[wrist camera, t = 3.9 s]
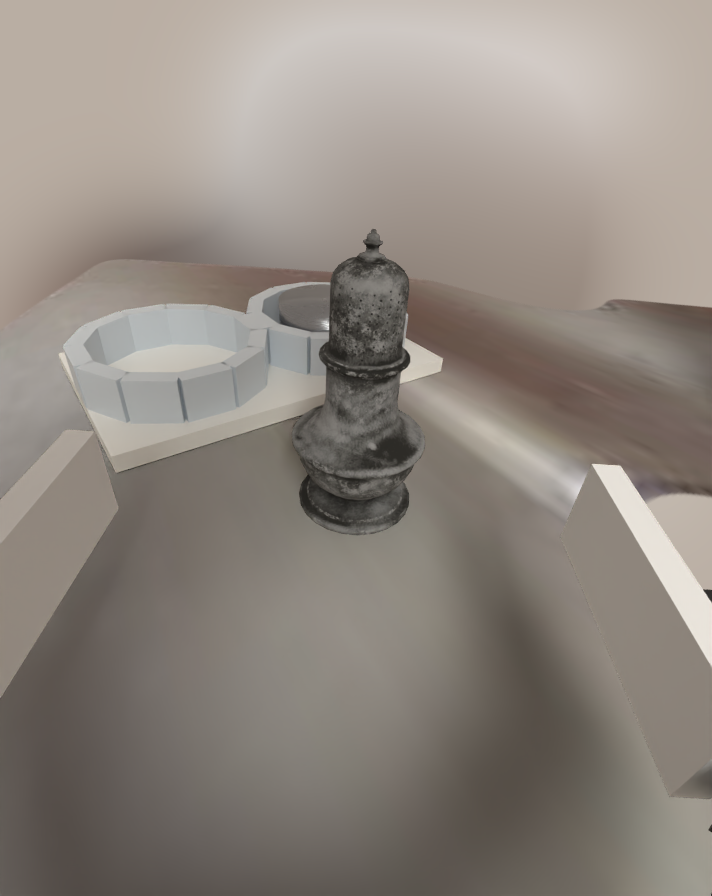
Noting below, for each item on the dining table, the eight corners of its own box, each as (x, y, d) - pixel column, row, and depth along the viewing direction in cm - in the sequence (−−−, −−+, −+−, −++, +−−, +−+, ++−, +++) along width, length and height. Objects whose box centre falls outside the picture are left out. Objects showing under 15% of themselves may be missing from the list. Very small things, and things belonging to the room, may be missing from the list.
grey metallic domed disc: (339, 317, 40) (340, 279, 38) (392, 348, 35) (396, 307, 33) (263, 332, 36) (261, 292, 34) (311, 369, 32) (311, 325, 30)
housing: (338, 312, 43) (340, 272, 41) (440, 371, 35) (449, 324, 33) (62, 367, 32) (46, 316, 30) (115, 473, 24) (97, 412, 22)
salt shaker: (312, 450, 26) (314, 206, 19) (421, 469, 25) (463, 221, 18) (275, 525, 22) (259, 238, 15) (407, 551, 21) (457, 261, 14)
